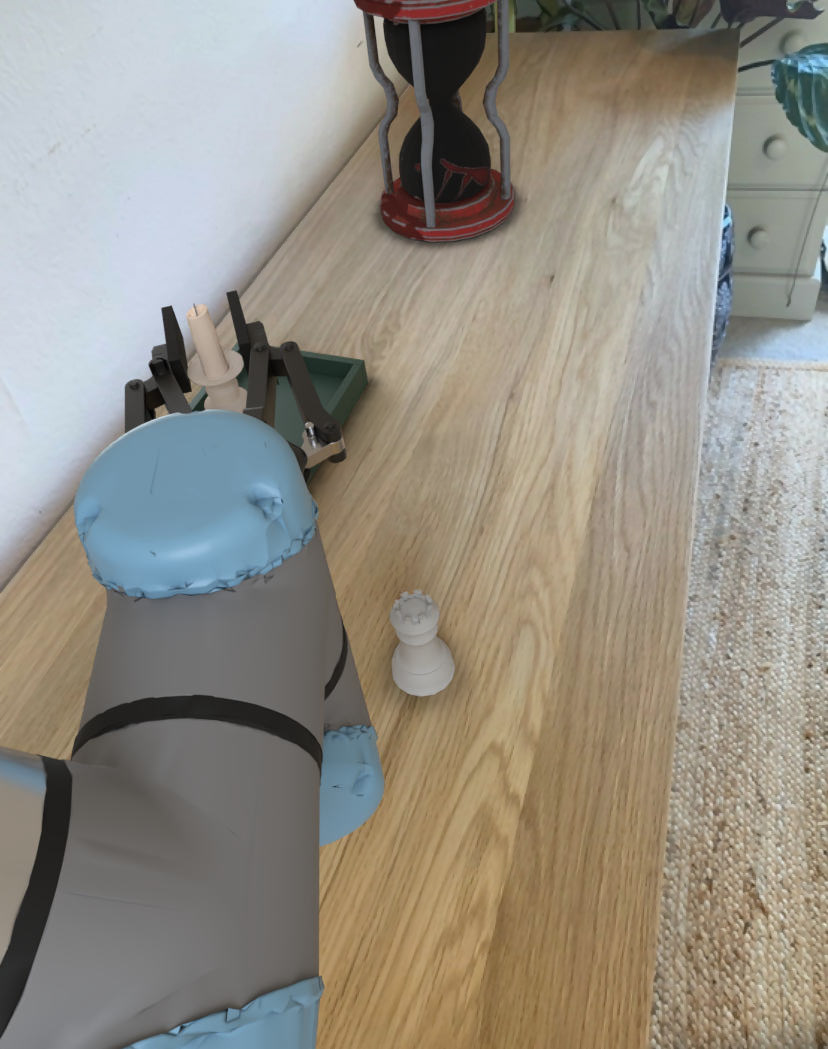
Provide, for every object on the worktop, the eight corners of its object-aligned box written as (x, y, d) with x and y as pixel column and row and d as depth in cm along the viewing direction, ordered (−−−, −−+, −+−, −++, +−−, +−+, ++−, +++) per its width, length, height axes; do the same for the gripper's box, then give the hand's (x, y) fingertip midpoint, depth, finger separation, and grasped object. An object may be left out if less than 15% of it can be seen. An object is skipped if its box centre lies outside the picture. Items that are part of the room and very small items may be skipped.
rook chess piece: (409, 637, 62) (397, 569, 56) (465, 657, 61) (459, 589, 55) (381, 686, 60) (366, 621, 54) (439, 709, 58) (429, 643, 52)
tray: (291, 513, 72) (284, 490, 70) (154, 484, 76) (143, 462, 74) (368, 383, 82) (364, 359, 80) (244, 363, 86) (237, 340, 84)
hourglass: (402, 173, 110) (378, -53, 92) (526, 178, 106) (527, -57, 88) (364, 239, 100) (328, 1, 82) (499, 247, 96) (494, -1, 78)
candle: (199, 457, 60) (152, 334, 52) (198, 410, 63) (153, 288, 55) (273, 443, 60) (237, 318, 52) (268, 396, 63) (233, 273, 56)
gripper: (116, 638, 47) (104, 385, 62) (411, 557, 49) (329, 331, 64) (62, 551, 41) (63, 297, 57) (397, 463, 43) (310, 240, 59)
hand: (204, 315), depth 61 cm, fingers closed on candle, 4 cm apart
